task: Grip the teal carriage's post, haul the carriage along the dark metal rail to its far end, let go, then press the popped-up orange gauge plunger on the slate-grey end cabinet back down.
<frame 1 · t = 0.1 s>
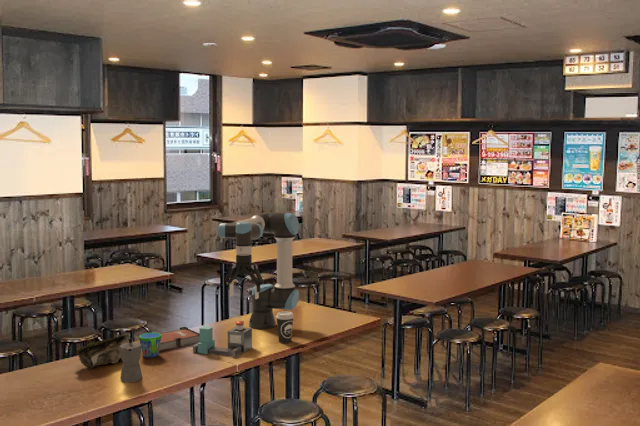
hand: (244, 297, 316), 28 cm above the table, fingers open, 13 cm apart
carriage: (206, 339, 321), point 6 cm above the table, slide at 0.0 cm
book: (171, 344, 336), on the table
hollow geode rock: (104, 363, 304), on the table
snack cup: (150, 356, 315), on the table
coffee cup: (285, 341, 339), on the table
gauge plunger: (239, 328, 324), point 11 cm above the table, slide at 0.0 cm
rail: (217, 352, 320), on the table
coffeepot: (131, 378, 284), on the table
end cabinet: (240, 349, 325), on the table
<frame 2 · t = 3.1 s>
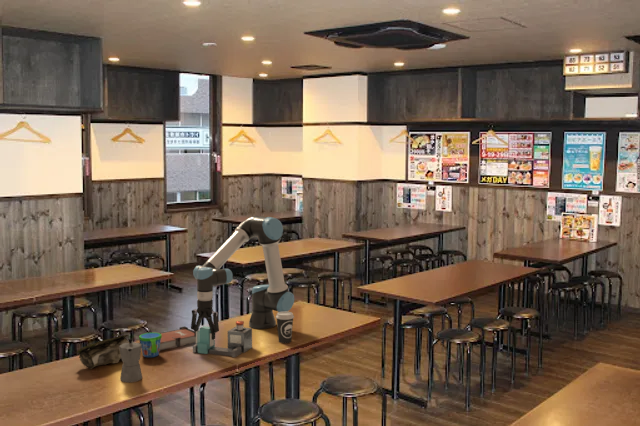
hand: (204, 344, 322), 3 cm above the table, fingers open, 7 cm apart
nothing on the table moved.
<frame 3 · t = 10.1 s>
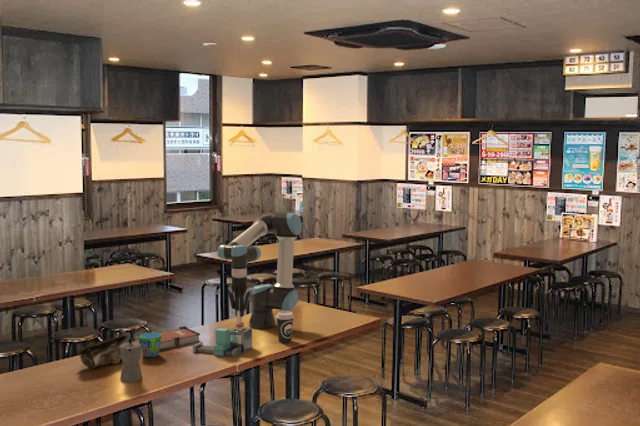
hand: (239, 323, 324), 13 cm above the table, fingers closed
carriage: (222, 341, 318), point 6 cm above the table, slide at 8.9 cm
gauge plunger: (239, 329, 324), point 10 cm above the table, slide at 0.8 cm, touching gripper
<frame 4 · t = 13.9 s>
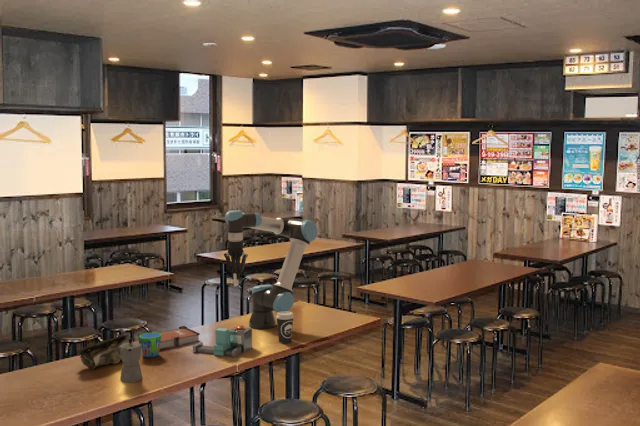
hand: (236, 285, 337), 29 cm above the table, fingers closed
gauge plunger: (239, 332, 325), point 8 cm above the table, slide at 2.4 cm
at the end: carriage slide at 8.9 cm; gauge plunger slide at 2.4 cm; the gripper is holding nothing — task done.
